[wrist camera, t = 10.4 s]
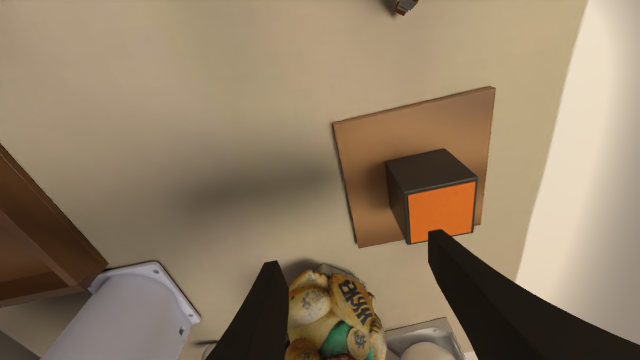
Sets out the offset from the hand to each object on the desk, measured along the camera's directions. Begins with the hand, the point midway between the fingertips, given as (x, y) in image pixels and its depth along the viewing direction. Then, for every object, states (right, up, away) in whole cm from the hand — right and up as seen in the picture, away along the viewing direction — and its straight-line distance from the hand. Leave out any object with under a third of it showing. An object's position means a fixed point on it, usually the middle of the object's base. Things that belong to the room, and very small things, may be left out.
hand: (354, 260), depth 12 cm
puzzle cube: (+6, +4, +8) cm, 11 cm away
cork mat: (+6, +4, +9) cm, 11 cm away
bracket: (+8, -14, +17) cm, 23 cm away
